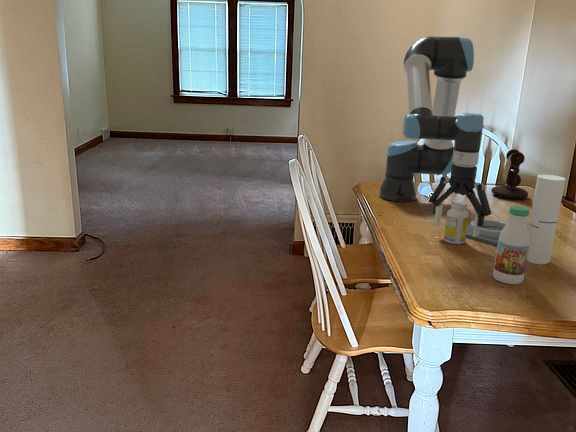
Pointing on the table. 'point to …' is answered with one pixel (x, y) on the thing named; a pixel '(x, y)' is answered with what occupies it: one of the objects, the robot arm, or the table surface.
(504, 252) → the milk bottle
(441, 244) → the table surface
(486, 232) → the collar board
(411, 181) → the robot arm
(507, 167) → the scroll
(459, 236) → the supplement bottle
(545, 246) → the cylindrical container
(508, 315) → the table surface
